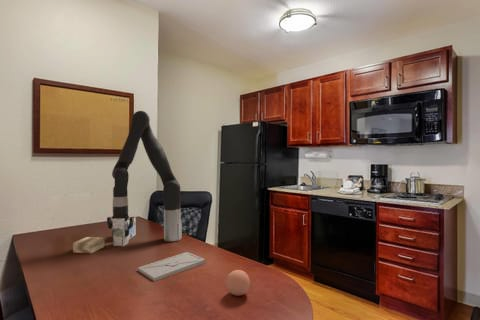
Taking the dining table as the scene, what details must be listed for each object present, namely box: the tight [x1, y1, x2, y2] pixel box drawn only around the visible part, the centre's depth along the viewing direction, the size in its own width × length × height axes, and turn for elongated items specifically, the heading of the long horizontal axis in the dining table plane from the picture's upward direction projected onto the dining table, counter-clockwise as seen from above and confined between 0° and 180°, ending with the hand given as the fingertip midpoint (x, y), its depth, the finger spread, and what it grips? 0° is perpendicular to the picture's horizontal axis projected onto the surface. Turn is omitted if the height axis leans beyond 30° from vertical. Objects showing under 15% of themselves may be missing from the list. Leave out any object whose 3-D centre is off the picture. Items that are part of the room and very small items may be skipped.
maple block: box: [72, 236, 105, 254], centre depth 138 cm, size 10×10×5 cm
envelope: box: [137, 251, 206, 282], centre depth 115 cm, size 24×2×14 cm
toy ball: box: [225, 269, 251, 297], centre depth 91 cm, size 8×8×8 cm
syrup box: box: [112, 218, 129, 247], centre depth 144 cm, size 6×6×14 cm
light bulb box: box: [128, 216, 137, 241], centre depth 158 cm, size 11×7×11 cm, turn 179°
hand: (120, 236), depth 144 cm, fingers closed on syrup box, 6 cm apart
